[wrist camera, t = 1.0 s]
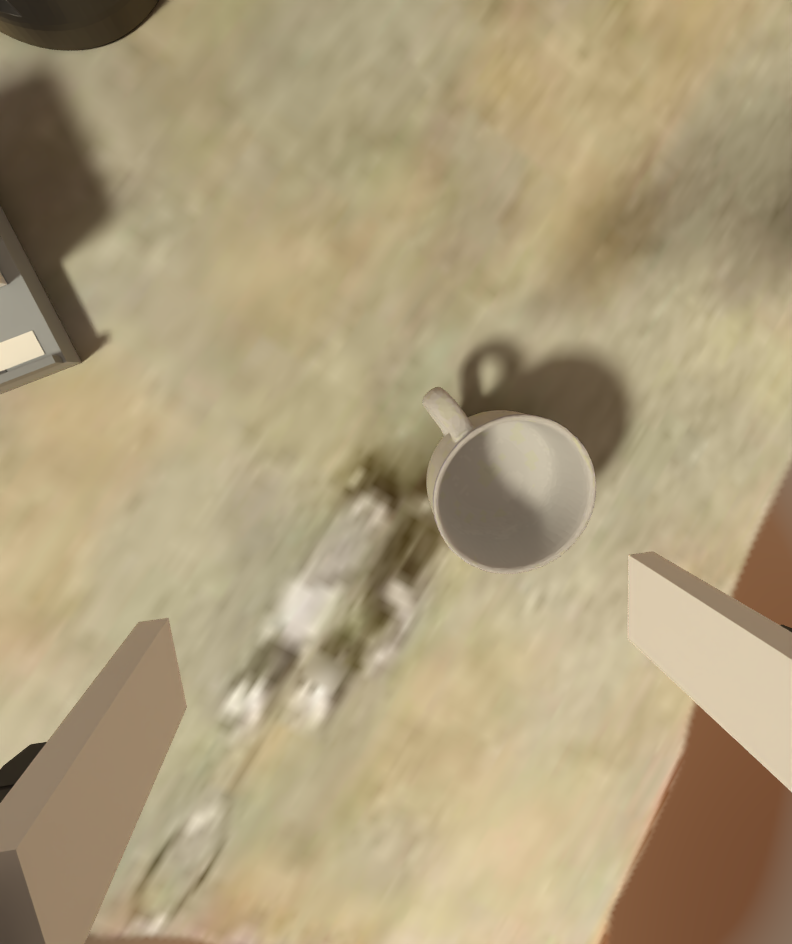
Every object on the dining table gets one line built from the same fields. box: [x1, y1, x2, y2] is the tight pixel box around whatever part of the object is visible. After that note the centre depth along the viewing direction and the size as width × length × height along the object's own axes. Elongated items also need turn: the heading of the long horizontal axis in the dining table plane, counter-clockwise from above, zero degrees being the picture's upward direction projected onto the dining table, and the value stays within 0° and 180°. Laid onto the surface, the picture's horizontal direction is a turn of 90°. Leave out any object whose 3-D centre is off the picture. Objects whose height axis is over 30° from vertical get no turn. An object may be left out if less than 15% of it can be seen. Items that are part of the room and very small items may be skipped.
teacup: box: [422, 387, 596, 574], centre depth 36 cm, size 14×11×8 cm
